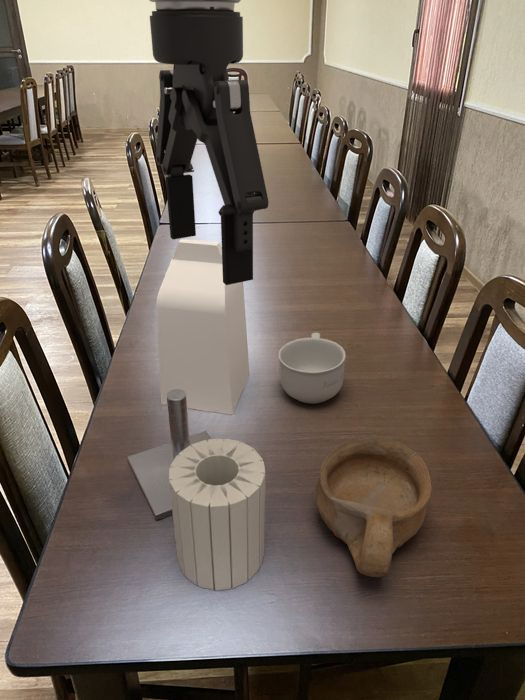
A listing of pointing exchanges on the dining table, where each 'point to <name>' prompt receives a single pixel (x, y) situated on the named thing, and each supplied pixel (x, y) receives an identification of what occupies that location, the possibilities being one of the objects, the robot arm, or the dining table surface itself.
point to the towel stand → (164, 457)
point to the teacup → (312, 368)
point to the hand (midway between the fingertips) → (208, 257)
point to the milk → (201, 330)
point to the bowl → (373, 498)
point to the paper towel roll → (218, 512)
